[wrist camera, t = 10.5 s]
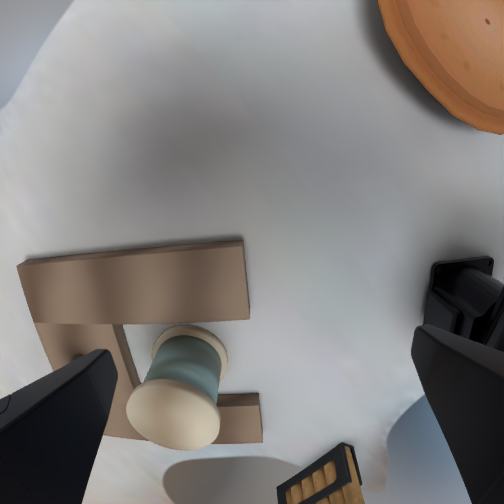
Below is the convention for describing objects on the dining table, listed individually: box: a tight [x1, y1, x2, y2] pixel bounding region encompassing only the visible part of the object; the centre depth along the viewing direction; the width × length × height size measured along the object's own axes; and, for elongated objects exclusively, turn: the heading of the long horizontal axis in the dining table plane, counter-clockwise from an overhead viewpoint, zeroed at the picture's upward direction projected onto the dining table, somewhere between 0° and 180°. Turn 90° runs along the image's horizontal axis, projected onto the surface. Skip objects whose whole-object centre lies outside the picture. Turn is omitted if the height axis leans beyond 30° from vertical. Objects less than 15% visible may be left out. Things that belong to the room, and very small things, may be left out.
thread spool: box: [126, 325, 228, 450], centre depth 20 cm, size 6×6×7 cm
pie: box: [377, 0, 504, 135], centre depth 14 cm, size 15×16×5 cm
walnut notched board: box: [17, 240, 263, 444], centre depth 21 cm, size 18×18×6 cm
